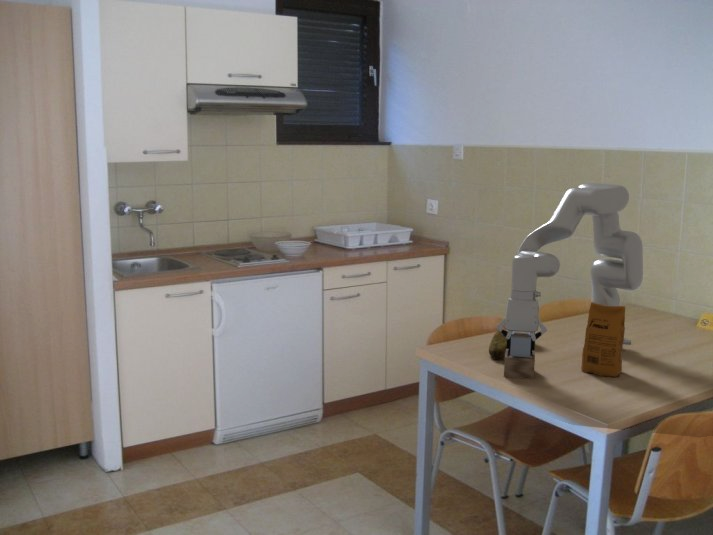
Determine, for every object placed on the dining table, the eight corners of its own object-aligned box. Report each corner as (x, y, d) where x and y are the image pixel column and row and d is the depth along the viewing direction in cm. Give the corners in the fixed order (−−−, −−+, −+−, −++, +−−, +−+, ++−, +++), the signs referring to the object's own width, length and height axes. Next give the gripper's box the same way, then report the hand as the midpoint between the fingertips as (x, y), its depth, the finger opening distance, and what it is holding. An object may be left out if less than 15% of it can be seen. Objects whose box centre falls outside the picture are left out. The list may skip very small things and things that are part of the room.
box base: (533, 370, 236) (534, 351, 235) (533, 379, 228) (534, 359, 227) (504, 367, 238) (505, 349, 237) (503, 376, 230) (504, 357, 229)
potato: (478, 357, 249) (479, 334, 248) (498, 349, 259) (499, 326, 258) (500, 362, 244) (501, 338, 243) (519, 353, 254) (520, 331, 252)
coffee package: (586, 364, 244) (591, 298, 240) (625, 371, 237) (630, 303, 233) (576, 371, 236) (581, 303, 232) (616, 379, 229) (621, 309, 225)
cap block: (530, 352, 234) (531, 332, 233) (530, 357, 228) (531, 337, 227) (510, 350, 235) (511, 331, 234) (510, 355, 230) (511, 336, 229)
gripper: (552, 294, 230) (548, 350, 233) (495, 290, 234) (493, 346, 237) (552, 299, 223) (549, 357, 226) (494, 295, 227) (491, 352, 230)
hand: (520, 350), depth 232 cm, fingers closed on cap block, 5 cm apart
